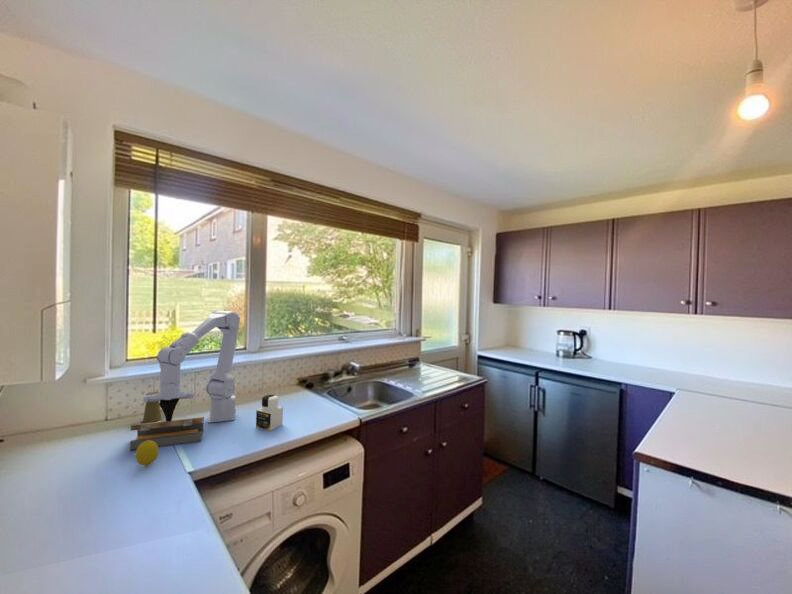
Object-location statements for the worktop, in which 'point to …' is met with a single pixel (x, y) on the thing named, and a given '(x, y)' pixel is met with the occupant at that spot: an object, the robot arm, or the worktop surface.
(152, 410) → the cork
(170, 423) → the tan flat wooden board
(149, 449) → the lemon
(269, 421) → the medicine bottle
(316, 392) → the worktop surface
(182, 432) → the cable duct
